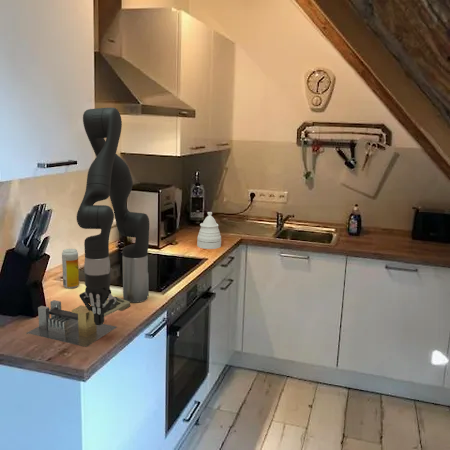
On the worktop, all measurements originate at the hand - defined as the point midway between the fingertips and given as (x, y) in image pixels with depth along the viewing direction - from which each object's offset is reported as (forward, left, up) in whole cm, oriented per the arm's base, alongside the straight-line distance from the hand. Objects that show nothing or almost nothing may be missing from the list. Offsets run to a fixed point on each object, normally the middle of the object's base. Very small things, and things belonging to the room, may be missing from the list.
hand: (99, 324), depth 155 cm
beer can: (-35, -39, -5) cm, 52 cm away
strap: (0, -13, +1) cm, 13 cm away
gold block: (0, -6, -4) cm, 7 cm away
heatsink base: (0, -10, -5) cm, 11 cm away
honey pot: (-120, -16, -5) cm, 121 cm away
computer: (-20, -11, -6) cm, 23 cm away
